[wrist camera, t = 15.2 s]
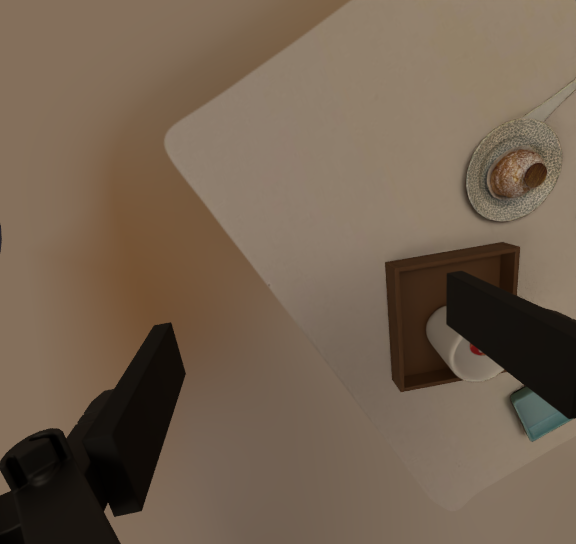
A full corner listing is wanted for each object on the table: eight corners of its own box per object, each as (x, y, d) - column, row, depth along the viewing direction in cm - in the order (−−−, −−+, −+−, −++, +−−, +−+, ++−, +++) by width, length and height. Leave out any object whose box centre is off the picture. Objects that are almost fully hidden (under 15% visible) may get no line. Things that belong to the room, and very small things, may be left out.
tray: (392, 379, 48) (400, 392, 45) (385, 262, 42) (394, 268, 40) (496, 359, 49) (511, 371, 46) (502, 241, 43) (520, 246, 40)
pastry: (453, 141, 38) (478, 139, 34) (551, 103, 38) (588, 96, 34) (469, 233, 43) (493, 241, 38) (557, 200, 42) (592, 205, 38)
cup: (439, 271, 43) (479, 292, 35) (490, 286, 44) (539, 309, 37) (409, 342, 46) (440, 376, 38) (458, 354, 47) (497, 388, 39)
